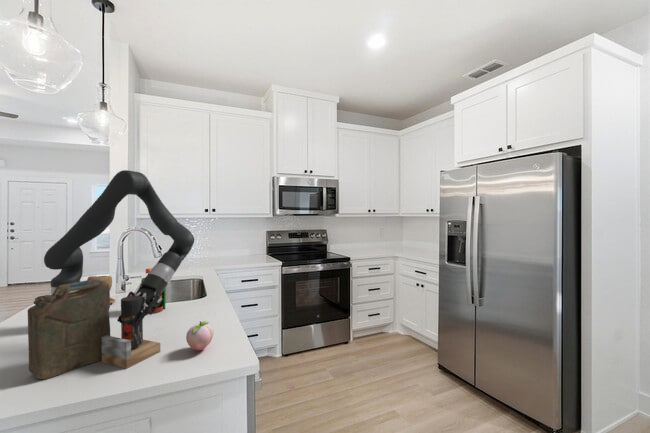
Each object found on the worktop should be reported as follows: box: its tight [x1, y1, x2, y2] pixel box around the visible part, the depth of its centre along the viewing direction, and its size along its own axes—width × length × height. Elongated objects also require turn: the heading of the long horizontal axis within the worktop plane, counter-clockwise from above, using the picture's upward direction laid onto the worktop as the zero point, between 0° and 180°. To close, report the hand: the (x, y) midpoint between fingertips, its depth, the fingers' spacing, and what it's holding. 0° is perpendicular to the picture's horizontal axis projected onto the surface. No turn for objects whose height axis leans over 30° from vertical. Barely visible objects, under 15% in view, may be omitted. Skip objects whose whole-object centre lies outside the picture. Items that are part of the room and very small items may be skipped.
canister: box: [27, 279, 111, 380], centre depth 95 cm, size 19×8×25 cm, turn 147°
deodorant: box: [120, 296, 144, 347], centre depth 101 cm, size 6×6×15 cm
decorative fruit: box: [185, 320, 214, 351], centre depth 106 cm, size 9×8×10 cm
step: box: [101, 335, 161, 369], centre depth 101 cm, size 11×12×8 cm
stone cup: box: [86, 275, 116, 304], centre depth 154 cm, size 15×12×15 cm
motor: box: [140, 267, 167, 315], centre depth 146 cm, size 10×9×20 cm
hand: (127, 323), depth 99 cm, fingers closed on deodorant, 6 cm apart
